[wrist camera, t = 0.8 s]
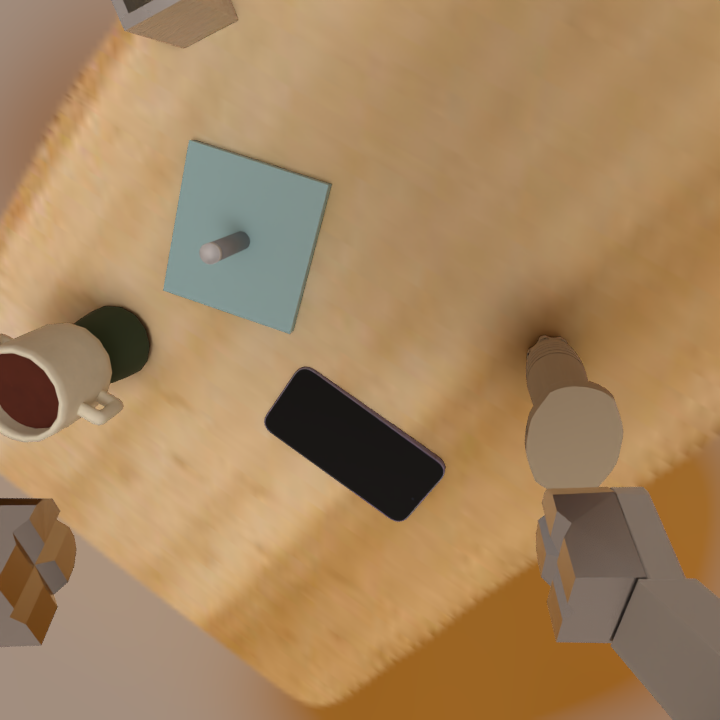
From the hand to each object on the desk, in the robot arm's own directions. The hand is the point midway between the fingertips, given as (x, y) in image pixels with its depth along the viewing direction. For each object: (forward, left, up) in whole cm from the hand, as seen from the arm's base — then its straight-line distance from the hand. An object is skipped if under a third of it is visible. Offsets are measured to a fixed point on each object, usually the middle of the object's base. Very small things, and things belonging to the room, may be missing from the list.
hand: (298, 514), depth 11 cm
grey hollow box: (-9, -21, -38) cm, 45 cm away
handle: (+7, +11, -39) cm, 41 cm away
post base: (+6, -14, -38) cm, 41 cm away
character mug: (+18, -23, -39) cm, 49 cm away
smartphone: (+20, -1, -39) cm, 44 cm away
